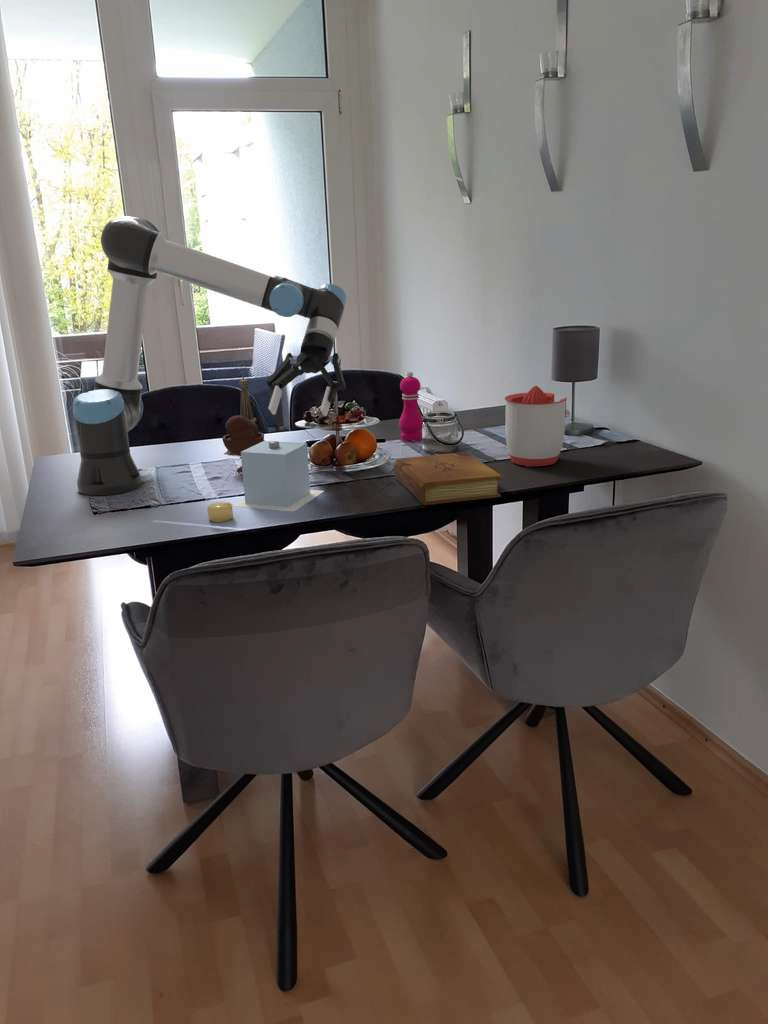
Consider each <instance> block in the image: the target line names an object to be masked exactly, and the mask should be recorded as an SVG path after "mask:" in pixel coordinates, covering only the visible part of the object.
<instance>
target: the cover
mask: <svg viewBox="0 0 768 1024" xmlns="http://www.w3.org/2000/svg"><path fill="white" fill-rule="evenodd" d="M240 457H241V458H240V459H241V460H240V462H241V466H242V472H241V473H242V479H243V482H242V483H243V491H244V498H245V503H247V504H258V505H270V506H281V507H290V506H291V505H293V504H294V503H296V502H297V501H299V500H300V499H302V498H303V497H305V496H307V495H308V494H310V490H311V489H310V485H311V484H310V470H309V456H308V443H307V442H295V441H293V442H292V441H291V442H290V441H278V440H265V441H263V442H261V443H259V444H256V445H254V446H252V447H250V448H248V449H246V450H244V451H242V452H241V456H240Z"/></svg>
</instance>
